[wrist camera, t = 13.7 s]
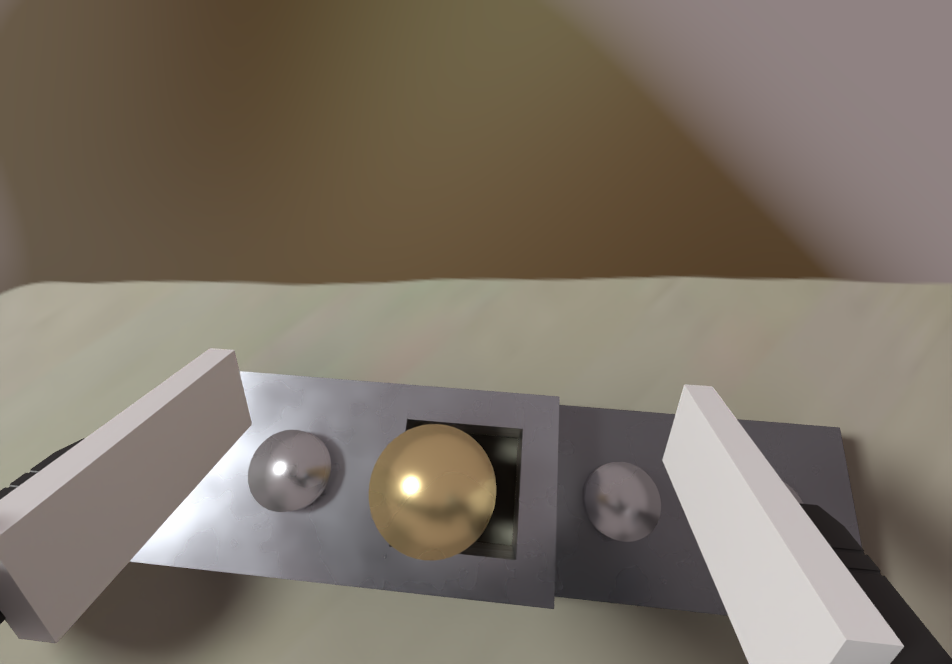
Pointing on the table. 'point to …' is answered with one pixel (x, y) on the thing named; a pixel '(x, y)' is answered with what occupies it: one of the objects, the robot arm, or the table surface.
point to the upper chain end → (359, 491)
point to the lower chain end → (660, 505)
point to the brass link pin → (432, 492)
